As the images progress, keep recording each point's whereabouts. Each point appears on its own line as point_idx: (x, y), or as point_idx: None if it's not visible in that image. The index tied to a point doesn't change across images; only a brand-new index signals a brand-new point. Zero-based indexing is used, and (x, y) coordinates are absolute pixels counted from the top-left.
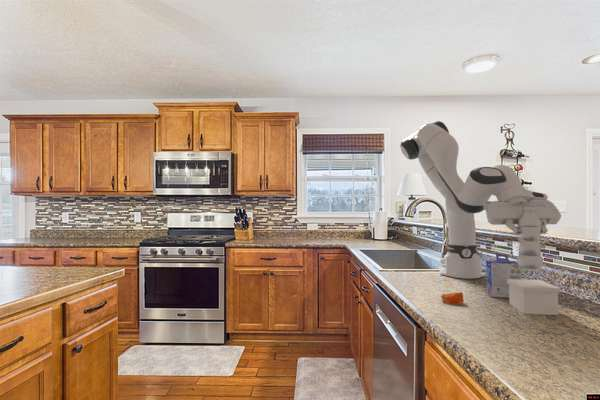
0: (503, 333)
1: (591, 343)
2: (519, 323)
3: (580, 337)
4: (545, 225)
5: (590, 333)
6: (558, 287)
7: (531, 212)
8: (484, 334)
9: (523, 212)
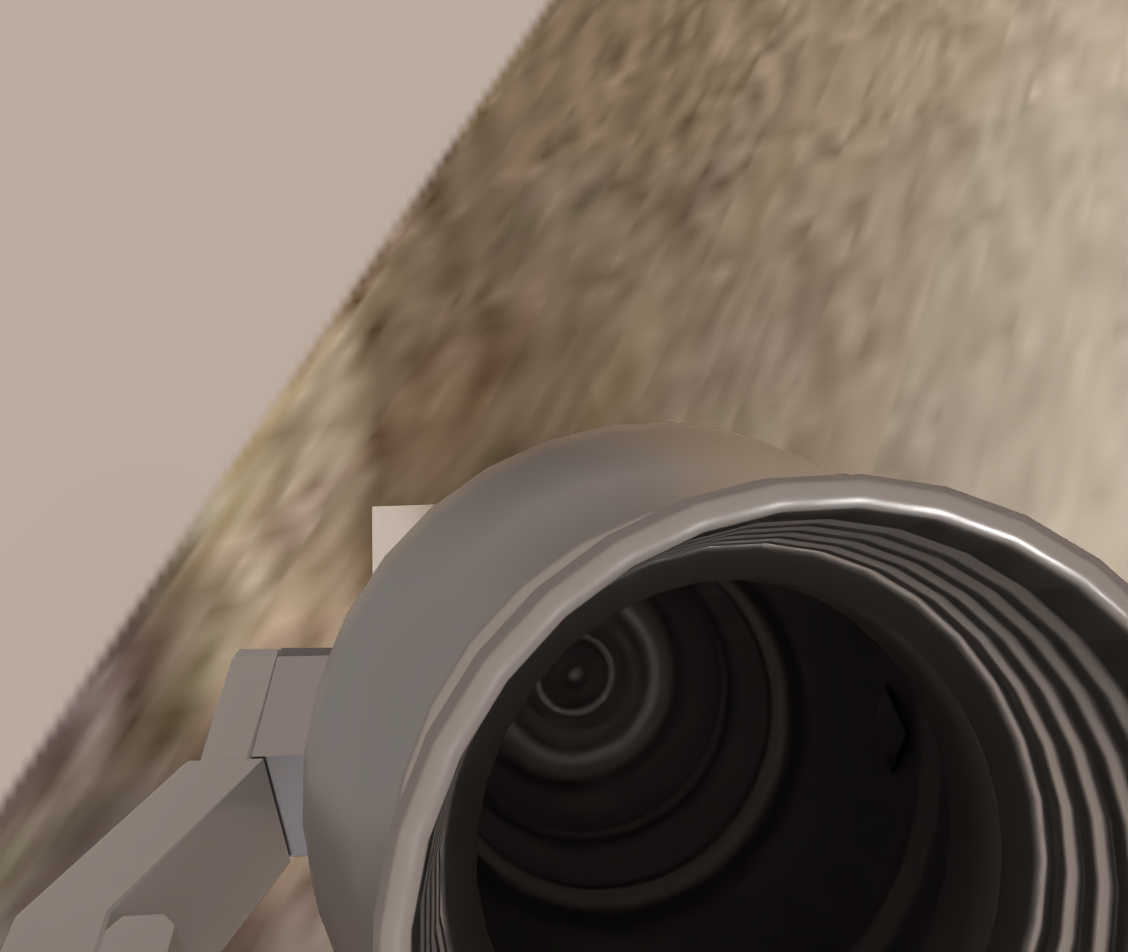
0: (930, 145)
1: (509, 81)
2: (771, 327)
3: (516, 155)
4: (176, 789)
5: (417, 226)
6: (373, 539)
7: (732, 557)
8: (1041, 114)
9: (1000, 795)
